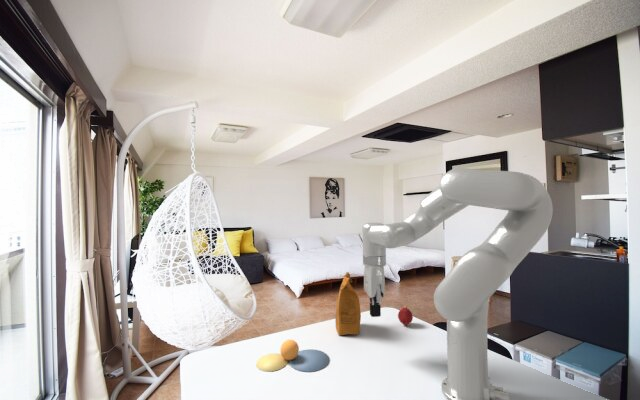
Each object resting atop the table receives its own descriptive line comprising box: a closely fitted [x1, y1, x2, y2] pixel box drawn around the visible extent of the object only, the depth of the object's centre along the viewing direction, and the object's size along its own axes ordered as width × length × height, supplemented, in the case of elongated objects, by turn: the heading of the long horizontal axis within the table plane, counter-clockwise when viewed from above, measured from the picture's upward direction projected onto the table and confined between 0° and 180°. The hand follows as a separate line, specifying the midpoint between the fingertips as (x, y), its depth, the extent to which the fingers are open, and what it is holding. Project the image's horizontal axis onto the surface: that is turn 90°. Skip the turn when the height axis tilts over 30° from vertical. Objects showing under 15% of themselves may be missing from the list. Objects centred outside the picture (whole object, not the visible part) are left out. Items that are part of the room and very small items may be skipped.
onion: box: [397, 305, 414, 326], centre depth 119 cm, size 6×6×8 cm
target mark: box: [288, 348, 330, 373], centre depth 94 cm, size 13×13×1 cm
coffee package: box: [335, 271, 361, 336], centre depth 116 cm, size 10×12×22 cm
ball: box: [280, 339, 300, 361], centre depth 95 cm, size 6×6×6 cm
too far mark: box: [256, 353, 289, 372], centre depth 93 cm, size 10×10×1 cm
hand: (375, 315), depth 96 cm, fingers closed
